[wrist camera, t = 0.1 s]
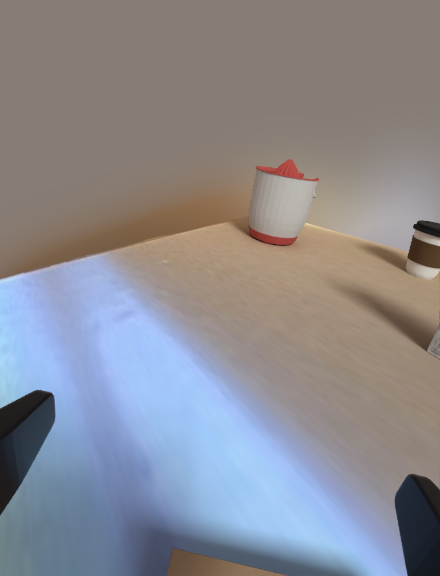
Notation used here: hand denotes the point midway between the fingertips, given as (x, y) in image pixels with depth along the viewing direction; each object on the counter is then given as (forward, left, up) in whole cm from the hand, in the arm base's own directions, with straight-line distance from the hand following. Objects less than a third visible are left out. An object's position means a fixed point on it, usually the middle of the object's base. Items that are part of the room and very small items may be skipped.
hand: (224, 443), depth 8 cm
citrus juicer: (+81, -7, -17) cm, 83 cm away
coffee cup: (+75, -43, -17) cm, 88 cm away
